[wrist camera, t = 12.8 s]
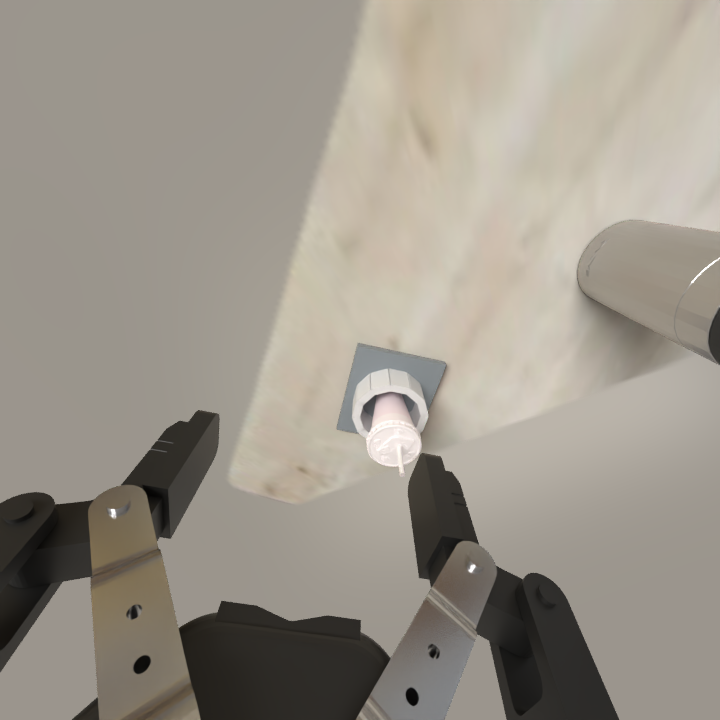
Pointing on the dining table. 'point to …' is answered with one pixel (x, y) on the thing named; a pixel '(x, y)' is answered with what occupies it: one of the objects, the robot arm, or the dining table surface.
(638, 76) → the dining table surface
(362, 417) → the holder
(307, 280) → the dining table surface
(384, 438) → the smoothie
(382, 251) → the dining table surface
